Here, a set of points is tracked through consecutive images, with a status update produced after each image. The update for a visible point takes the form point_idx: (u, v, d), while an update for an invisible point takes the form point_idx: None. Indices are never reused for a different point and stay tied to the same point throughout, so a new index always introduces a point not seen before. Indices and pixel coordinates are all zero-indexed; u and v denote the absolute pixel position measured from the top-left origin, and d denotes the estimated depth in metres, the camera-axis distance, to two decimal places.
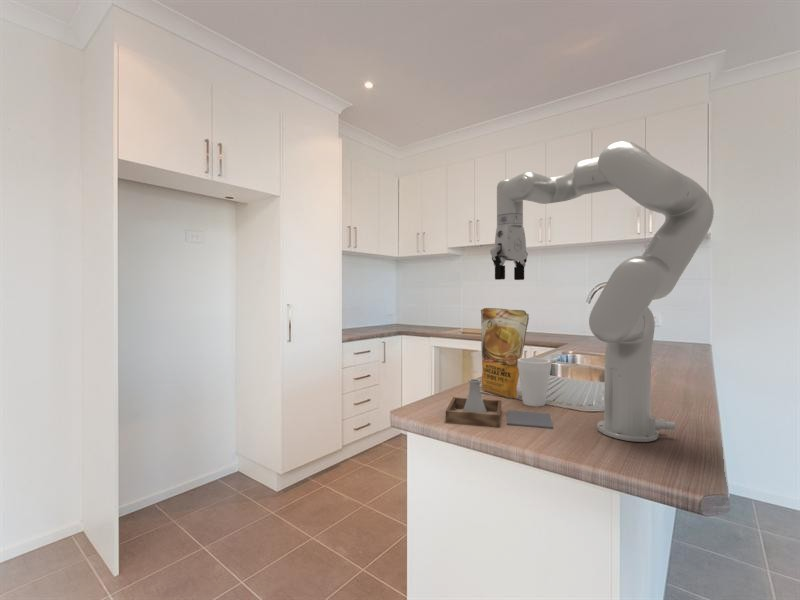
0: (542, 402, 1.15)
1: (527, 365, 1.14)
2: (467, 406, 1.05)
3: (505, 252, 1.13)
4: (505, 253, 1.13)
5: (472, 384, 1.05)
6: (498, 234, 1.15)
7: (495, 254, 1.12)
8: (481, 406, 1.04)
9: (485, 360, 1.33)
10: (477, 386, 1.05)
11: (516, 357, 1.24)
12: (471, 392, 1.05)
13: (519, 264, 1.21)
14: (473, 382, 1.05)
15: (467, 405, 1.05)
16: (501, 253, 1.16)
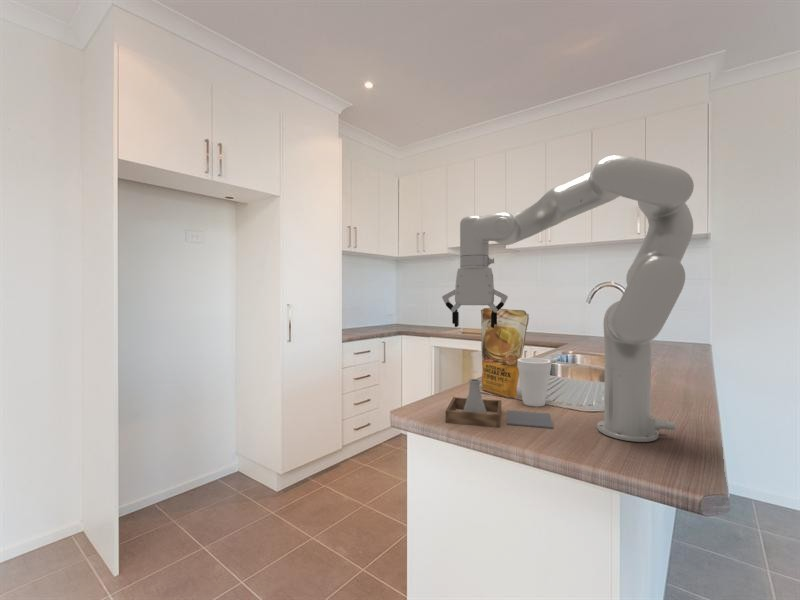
0: (542, 402, 1.15)
1: (527, 365, 1.14)
2: (467, 406, 1.05)
3: None
4: (493, 299, 1.06)
5: (472, 384, 1.05)
6: None
7: None
8: (481, 406, 1.04)
9: (485, 360, 1.33)
10: (477, 386, 1.05)
11: (516, 357, 1.24)
12: (471, 392, 1.05)
13: None
14: (473, 382, 1.05)
15: (467, 405, 1.05)
16: None
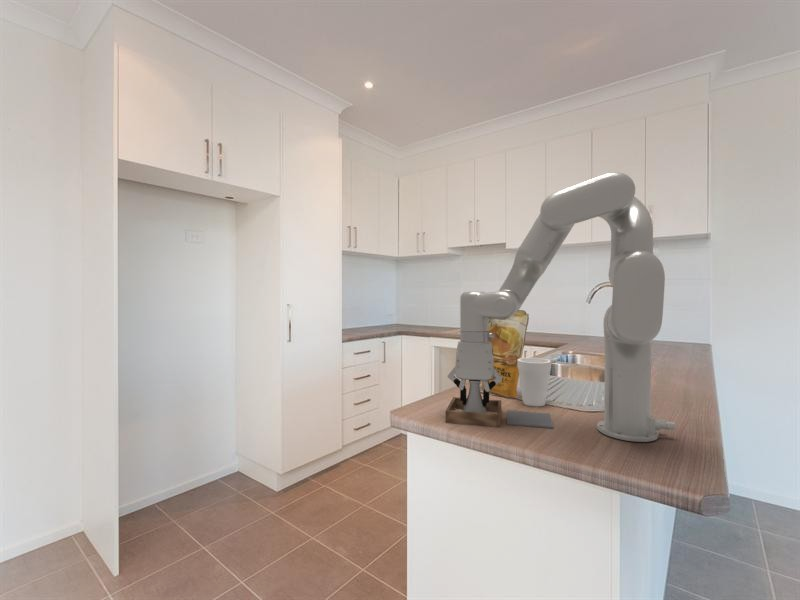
0: (542, 402, 1.15)
1: (527, 365, 1.14)
2: (467, 406, 1.05)
3: None
4: None
5: (472, 384, 1.05)
6: None
7: None
8: (481, 406, 1.04)
9: None
10: (477, 386, 1.05)
11: (516, 357, 1.24)
12: (471, 392, 1.05)
13: (463, 385, 1.07)
14: (473, 382, 1.05)
15: (467, 405, 1.05)
16: None
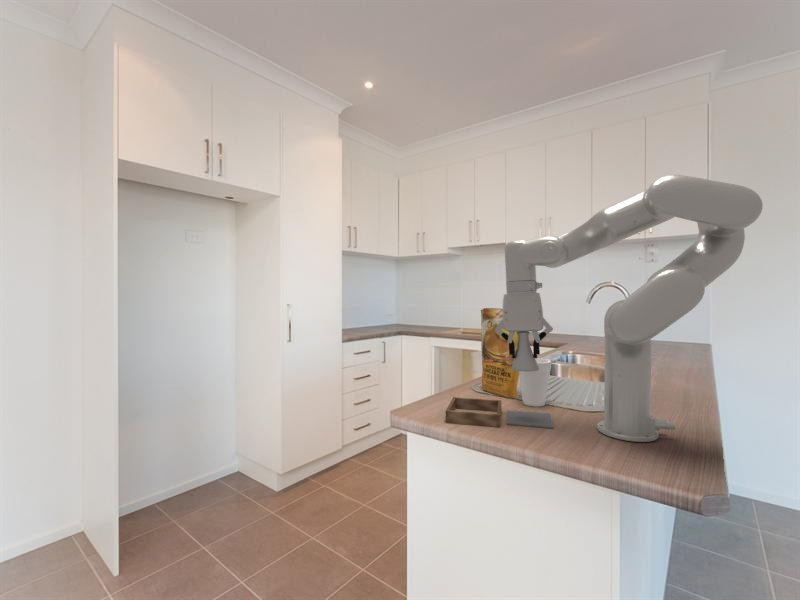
0: (542, 402, 1.15)
1: None
2: (517, 358, 1.02)
3: None
4: None
5: (521, 336, 1.02)
6: None
7: None
8: (532, 357, 1.01)
9: (485, 360, 1.33)
10: (526, 337, 1.02)
11: None
12: (521, 344, 1.02)
13: None
14: (522, 333, 1.02)
15: (517, 358, 1.02)
16: None
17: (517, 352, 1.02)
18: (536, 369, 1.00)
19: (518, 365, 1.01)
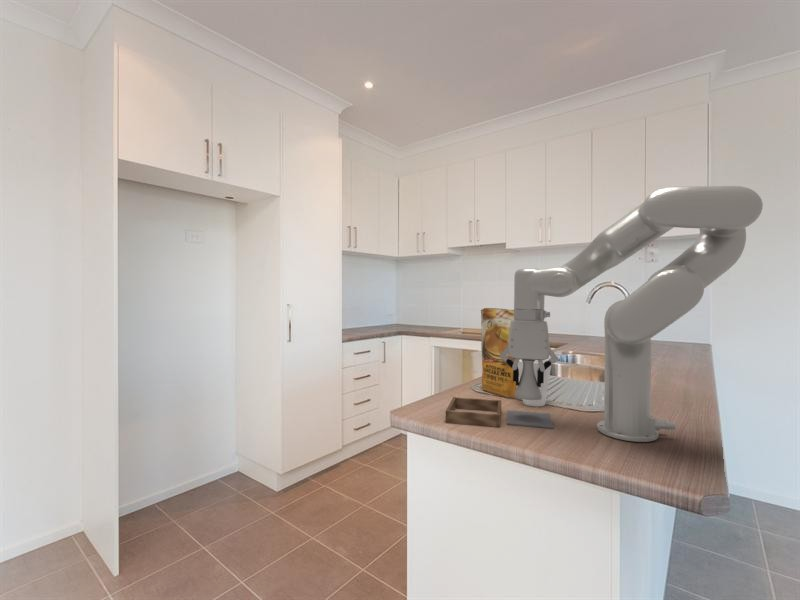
0: (542, 402, 1.15)
1: None
2: (521, 386, 1.02)
3: None
4: None
5: (526, 363, 1.02)
6: None
7: None
8: (536, 386, 1.01)
9: (485, 360, 1.33)
10: (531, 365, 1.02)
11: None
12: (525, 372, 1.02)
13: (516, 365, 1.04)
14: (527, 361, 1.02)
15: (520, 385, 1.02)
16: None
17: (521, 379, 1.03)
18: (539, 398, 1.00)
19: (521, 393, 1.01)
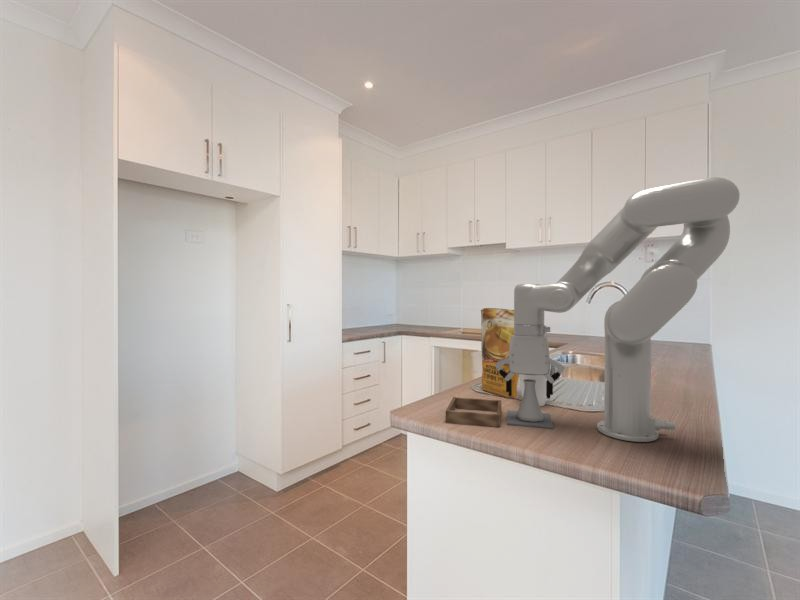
0: (542, 402, 1.15)
1: None
2: (523, 407, 1.02)
3: None
4: None
5: (528, 385, 1.02)
6: None
7: None
8: (537, 407, 1.01)
9: (485, 360, 1.33)
10: (533, 387, 1.02)
11: None
12: (527, 393, 1.02)
13: None
14: (529, 382, 1.02)
15: (522, 406, 1.02)
16: None
17: (523, 400, 1.03)
18: (541, 419, 1.00)
19: (523, 414, 1.01)
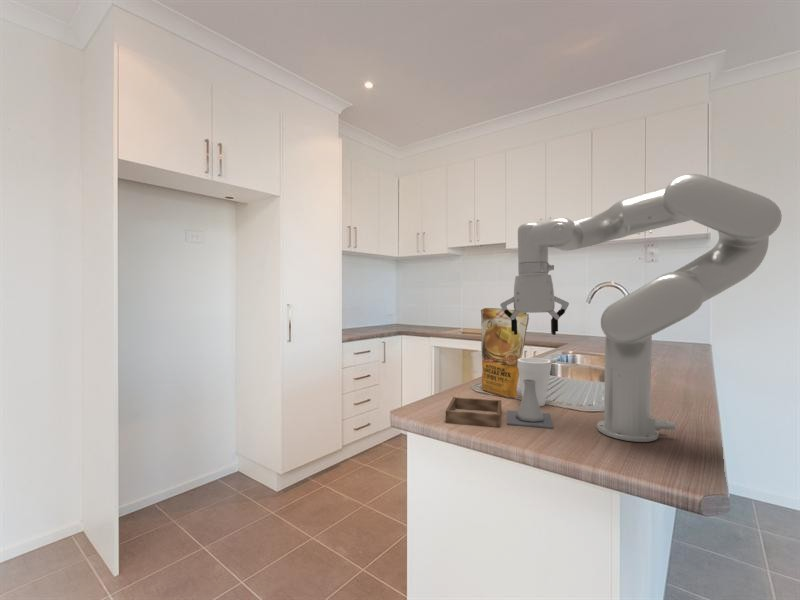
0: (542, 402, 1.15)
1: (527, 365, 1.14)
2: (523, 407, 1.02)
3: None
4: None
5: (528, 385, 1.02)
6: None
7: None
8: (537, 407, 1.01)
9: (485, 360, 1.33)
10: (533, 387, 1.02)
11: (516, 357, 1.24)
12: (527, 393, 1.02)
13: None
14: (529, 382, 1.02)
15: (522, 406, 1.02)
16: None
17: (523, 400, 1.03)
18: (541, 419, 1.00)
19: (523, 414, 1.01)
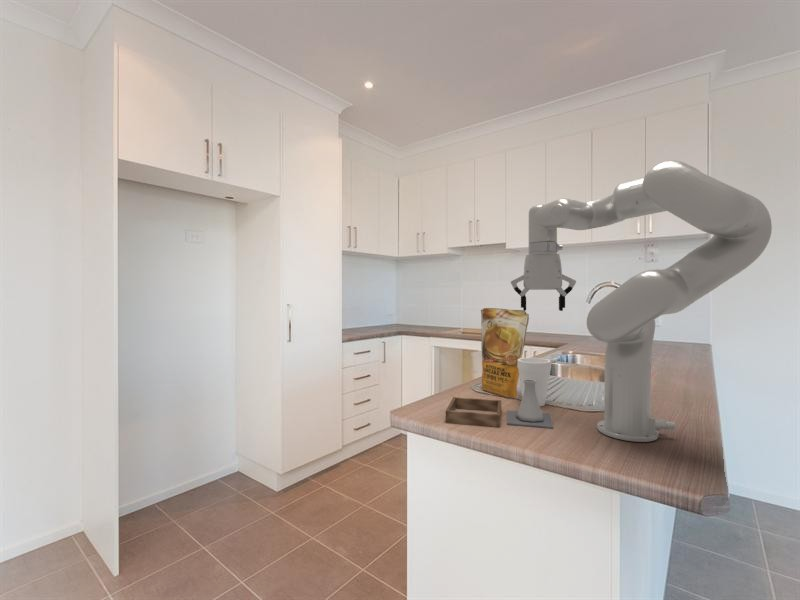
0: (542, 402, 1.15)
1: (527, 365, 1.14)
2: (523, 407, 1.02)
3: None
4: None
5: (528, 385, 1.02)
6: None
7: None
8: (537, 407, 1.01)
9: (485, 360, 1.33)
10: (533, 387, 1.02)
11: (516, 357, 1.24)
12: (527, 393, 1.02)
13: None
14: (529, 382, 1.02)
15: (522, 406, 1.02)
16: None
17: (523, 400, 1.03)
18: (541, 419, 1.00)
19: (523, 414, 1.01)
